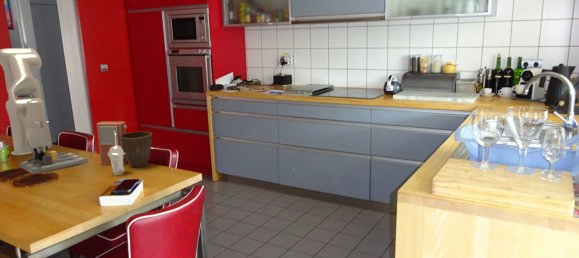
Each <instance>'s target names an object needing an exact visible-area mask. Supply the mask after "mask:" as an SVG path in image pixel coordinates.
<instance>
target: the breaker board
mask: <svg viewBox="0 0 579 258" xmlns="http://www.w3.org/2000/svg"><path fill="white" fill-rule="evenodd" d="M40 152H41V150H40ZM42 157H43V161H40V160H39V159H38V155H37V153H36V152H35V151H32V157H30V158H26V161H21V162H18V165H19V168H21V169H23V170H25V171H26V170H27V171H26V172H28V173H30V174H32V175H35V174H39V173H45V172H49V171H55V170H60V169H63V168H68V167H73V166H79V165H83V164H87V163H88V159H87V157H86V158H85V157H83V156H81V155H78V154H77V153H73V152H69V153H65V152H57V158H59V159H57V160H52V156H50V155H48V154H45V156H42Z"/></svg>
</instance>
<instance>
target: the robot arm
mask: <svg viewBox="0 0 579 258" xmlns="http://www.w3.org/2000/svg"><path fill="white" fill-rule="evenodd" d="M0 65H1V67H2V70H3V72H4V79H5V87H6V91H7V94H8V100H7V101H5V109H6V111H7V115H8V118H9V123H10V130H11V137H12V138H11V139H12V142H13V143H12V144H13V149H14V150H13V151H11V152H10V153H11V155H13V156H25V155H26V156H27V155H31V154H32V155H33V153H32V151H35V152H36V153H37V155H38V159H39V160H40V161H43V157H42V156H46V152H47V150H48V149H50V148H53V145H52V137H51V134H50V130H49V127H48V125H47V124H49V123H50V122H49V120H46V117H45V106H44V105H45V104H44V101H43V99H42V94H41V88H40V82H39V80H37V78H35V77H33V73H32V70H39V69H41V67H43V66H42V65H43V63H42V59H41V56H40V54H39V53H38V52H37V51H36V50H35V49H34V48H32V47H11V48H10V47H9V48H8V47H7V48H2V49H0ZM29 95H30V97H29ZM18 96H19V97H18ZM20 96H26V97H20ZM25 114H27V118H28V119H27V118H26V117H24V115H25ZM40 151H41V152H40Z"/></svg>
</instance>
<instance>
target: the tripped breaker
mask: <svg viewBox="0 0 579 258" xmlns="http://www.w3.org/2000/svg"><path fill="white" fill-rule="evenodd" d="M57 153H58V152H57V151H56V150H51V151H50V150H49V151H47V155H50V156H52V160H57V159H59V158H57Z"/></svg>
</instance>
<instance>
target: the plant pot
mask: <svg viewBox="0 0 579 258" xmlns="http://www.w3.org/2000/svg"><path fill="white" fill-rule="evenodd" d="M152 136H153V133H152V132H149V131H133V132H128V133H127V132H126V134H123V135H121V136H120V137H121V141H122V145H123V148H124V150H125V151H126V156H127V158H128V163H129V164H130V166H131V167H132V166H133V167H132V168H142V167H141V166H143V167H145V166H144V165H146V164H147V165H148V162H149V158H150V155H151V154H150V153H151V148H152ZM147 165H146V166H147Z"/></svg>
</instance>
